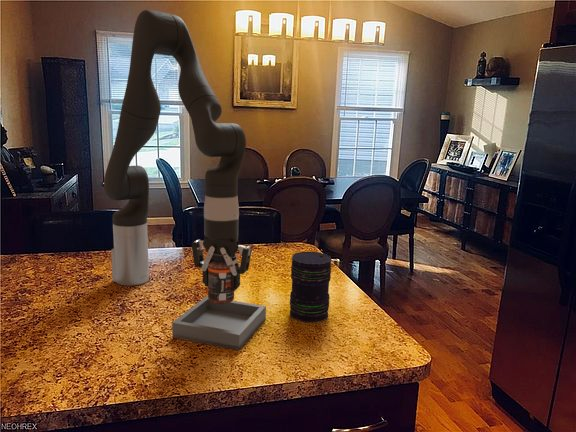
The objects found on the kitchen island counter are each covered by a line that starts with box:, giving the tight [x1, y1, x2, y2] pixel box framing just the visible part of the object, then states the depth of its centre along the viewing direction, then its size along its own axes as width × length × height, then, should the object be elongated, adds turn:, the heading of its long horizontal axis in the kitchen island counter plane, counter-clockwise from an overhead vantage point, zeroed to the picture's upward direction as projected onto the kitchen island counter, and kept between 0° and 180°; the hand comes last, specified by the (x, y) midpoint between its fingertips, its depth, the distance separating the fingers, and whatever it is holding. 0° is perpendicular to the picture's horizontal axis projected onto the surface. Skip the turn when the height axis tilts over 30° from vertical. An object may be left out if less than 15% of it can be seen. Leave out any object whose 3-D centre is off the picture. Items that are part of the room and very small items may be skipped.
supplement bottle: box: [207, 254, 235, 304], centre depth 106 cm, size 6×6×11 cm
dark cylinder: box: [289, 251, 332, 324], centre depth 116 cm, size 10×10×15 cm
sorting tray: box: [171, 295, 267, 351], centre depth 108 cm, size 16×16×4 cm
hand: (221, 287), depth 106 cm, fingers closed on supplement bottle, 6 cm apart
